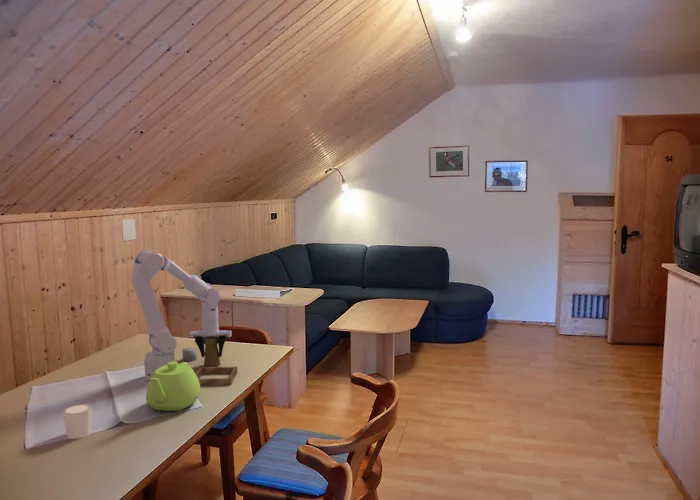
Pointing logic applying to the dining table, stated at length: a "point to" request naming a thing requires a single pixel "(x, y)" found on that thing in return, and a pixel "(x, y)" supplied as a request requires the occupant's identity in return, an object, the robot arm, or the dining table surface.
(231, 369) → the walnut collar block
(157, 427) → the dining table surface
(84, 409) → the white cylinder
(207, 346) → the cork
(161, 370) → the teapot
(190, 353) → the grey rounded piece
